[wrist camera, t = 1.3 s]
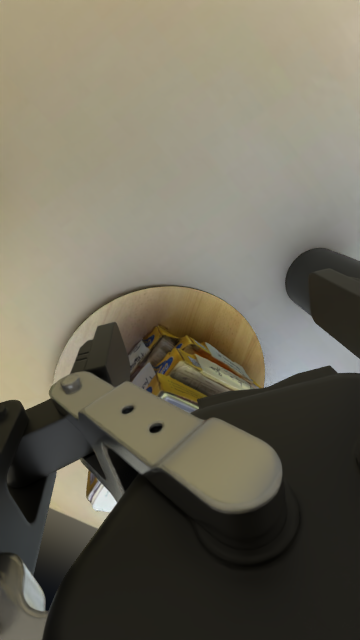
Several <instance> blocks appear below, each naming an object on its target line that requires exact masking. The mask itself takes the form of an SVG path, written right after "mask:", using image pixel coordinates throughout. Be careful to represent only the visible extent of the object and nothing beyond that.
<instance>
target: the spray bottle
mask: <svg viewBox="0 0 360 640" xmlns="http://www.w3.org/2000/svg"><path fill="white" fill-rule="evenodd" d="M328 268H330V269H333V270H335V271H337V272H339V273H341V274H344V275H346V276H348V277H354V278H359V279H360V261H358V260H355V259H353V258H350V257H347V256H345V255H342V254H339V253H337V252H334V251H332V250H329V249H325V248H316V249H312V250H309V251H307V252H305V253H303V254H301V255H300V256H299V257H298V258H297V259H296V260H295V261H294V262H293V263H292V265H291V266H290V268H289V270H288V272H287V276H286V282H285V284H286V291H287V294H288V296H289V297H290V299H291V300H292V301H293V302H295V303H296V304H297V305H298V306H300V307H301V308H302V309H303V310H305V311H306V312H307V313H308V314H310V315H311V311H310V300H309V285H308V277H309V274H310V273H312V272H316V271H320V270H324V269H328ZM311 316H312V315H311Z"/></svg>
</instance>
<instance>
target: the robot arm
mask: <svg viewBox="0 0 360 640" xmlns="http://www.w3.org/2000/svg"><path fill="white" fill-rule="evenodd" d="M308 285H309V300H310V311H311V315H312V318H313V320H314V322H315V323H316V324H317V325H319V326H320V327H321V328H322V329H324V330H325V331H326V332H327V333H328V334H330V335H331V336H332V337H333V338H335V339H336V340H337V341H338V342H340V343H341V344H342V345H343V346H345V347H346V348H347V349H348V350H349V351H351V352H352V353H353V354H354V355H356V356H357V357H358V358H359V359H360V279H359V278H354V277H348V276H346V275H344V274H341V273H339V272H337V271H335V270H333V269H330V268H328V269H324V270H320V271H316V272H312V273H310V274H309V277H308ZM130 371H131V368H130V361H129V357H128V354H127V351H126V348H125V345H124V342H123V339H122V336H121V333H120V330H119V327H118V325H117V323H116V322H112V323H108V324H104V325H100V326H97V329H96V332H95V335H94V338H93V339H92V340H88V341H86V342H85V343H84V344H83V345H82V346H81V347H80V349H79V352H78V354H77V357H76V359H75V362H74V365H73V367H72V370H71V372H70V374H69V375H67V376H65V377H63V378H61V379H60V380H58V381H57V382H56V383H55V384H54V385H53V386H52V387H51V388H50V390H49V395H50V398H51V399H49V400H47V401H45V402H43V403H41V404H38V405H36V406H34V407H31V408H29V409H27V410H25V409H24V407H23V405H22V404H21V402H20V401H18V400H9V401H5V402H2V403H0V640H360V373H337V372H336V371H335V370H334V369H333V368H332V367H331V366H326V367H322V368H318V369H314V370H310V371H306V372H302V373H298V374H296V375H293V376H291V377H289V378H287V379H285V380H282V381H280V382H278V383H276V384H274V385H272V386H269V387H266V388H258V389H246V390H235V391H227V392H223V393H219V394H215V395H212V396H208V397H204V398H200V399H197V403H198V407H199V409H197V410H195V411H193V412H191V413H188V412H186V411H184V410H182V409H180V408H179V407H177V406H175V405H173V404H171V403H169V402H167V401H165V400H164V399H162V398H160V397H158V396H156V395H154V394H152V393H150V392H148V391H147V390H145V389H143V388H141V387H139V386H137V385H135V384H133V383H131V382H130ZM79 459H80V460H81V462H82V463H83V464H84V465H85V467H86V468H87V469H88V470H89V471H90V472H91V473H92V474H93V475H94V476H95V477H96V478H97V479H98V480H99V481H100V482H101V483H102V484H103V486H104V487H105V488H106V489H107V490H108V491H109V492H110V493H111V494H112V496H113V497H114V499H115V500H116V502H117V504H116V505H115V507H114V508H113V509H112V511H111V512H110V514H109V515H108V516H107V518H106V519H105V520H104V522H103V523H102V525H101V526H100V527H99V529H98V530H97V532H96V533H95V534H94V536H93V537H92V538H91V540H90V541H89V543H88V544H87V545H86V547H85V548H84V550H83V551H82V553H81V554H80V555H79V557H78V558H77V559H76V561H75V562H74V564H73V565H72V566H71V568H70V569H69V571H68V572H67V574H66V575H65V577H64V579H63V581H62V582H61V584H60V586H59V588H58V590H57V592H56V594H55V597H54V599H53V602H52V604H51V606H50V610H49V611H45V595H44V592H43V590H42V589H41V587H40V585H39V584H38V583H37V581H36V580H35V578H34V577H33V574H34V570H35V565H36V561H37V556H38V552H39V548H40V543H41V539H42V534H43V530H44V526H45V522H46V517H47V512H48V509H49V504H50V500H51V496H52V491H53V487H54V483H55V478H56V473H57V472H56V471H57V470H59V469H61V468H63V467H65V466H67V465H69V464H71V463H73V462H75V461H77V460H79Z"/></svg>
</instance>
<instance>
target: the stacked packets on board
mask: <svg viewBox="0 0 360 640" xmlns="http://www.w3.org/2000/svg"><path fill="white" fill-rule="evenodd" d="M112 322H116V323H117V325H118V327H119V330H120V333H121V336H122V339H123V342H124V345H125V348H126V351H127V354H128V357H129V361H130V368H131V371H130V382H131V383H133V384H135V385H137V386H139V387H141V388H143V389H145V390H147V391H148V392H150V393H152V394H154V395H156V396H158V397H160V398H162V399H164V400H165V401H167V402H169V403H171V404H173V405H175V406H177V407H179V408H180V409H182V410H184V411H186V412H188V413H191V412H193V411H195V410H197V409H199V407H198V403H197V399H200V398H204V397H208V396H212V395H215V394H219V393H223V392H227V391H235V390H246V389H258V388H264V381H265V365H264V358H263V353H262V349H261V346H260V343H259V341H258V338H257V336H256V334H255V332H254V331H253V329H252V327H251V326H250V324H249V323H248V322H247V321H246V319H245V318H244V317H243V316H242V315H241V314H240V313H239V312H238V311H237V310H236V309H235V308H233V307H232V306H231V305H229V304H228V303H226V302H225V301H223V300H221V299H220V298H218V297H216V296H213V295H211V294H209V293H206V292H203V291H200V290H196V289H191V288H185V287H173V286H167V287H154V288H148V289H143V290H139V291H135V292H132V293H129V294H127V295H124V296H122V297H119V298H117V299H115V300H113V301H111V302H110V303H108V304H106V305H105V306H103V307H102V308H100V309H99V310H97V311H96V312H95V313H93V314H92V315H91V316H90V317H89V318H88V319H87V320H85V321H84V322H83V323H82V324H81V326H80V327H79V328H78V329H77V330H76V331H75V333H74V334H73V335H72V337H71V338H70V340H69V341H68V343H67V344H66V346H65V348H64V350H63V352H62V354H61V356H60V359H59V361H58V364H57V367H56V371H55V376H54V382H53V385H54V384H55V383H56V382H57V381H58V380H60V379H61V378H63V377H65V376H67V375H69V374H70V372H71V370H72V367H73V365H74V362H75V359H76V357H77V354H78V352H79V349H80V347H81V346H82V345H83V344H84V343H85V342H86V341H88V340H92V339H93V338H94V335H95V332H96V329H97V326H100V325H104V324H108V323H112ZM86 497H87V500H88V501H90V503H91V505H92V507H93V509H94V510H96V511H103V512H111V511H112V509H113V508H114V507H115V505H116V504H117V502H116V500H115V499H114V497H113V496H112V494H111V493H110V492H109V491H108V490H107V489H106V488H105V487H104V486H103V484H102V483H101V482H100V481H99V480H98V479H97V478H96V477H95V476H94V475H93V474H92V473H91V472H90V471H89V472H88V481H87V491H86Z"/></svg>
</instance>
